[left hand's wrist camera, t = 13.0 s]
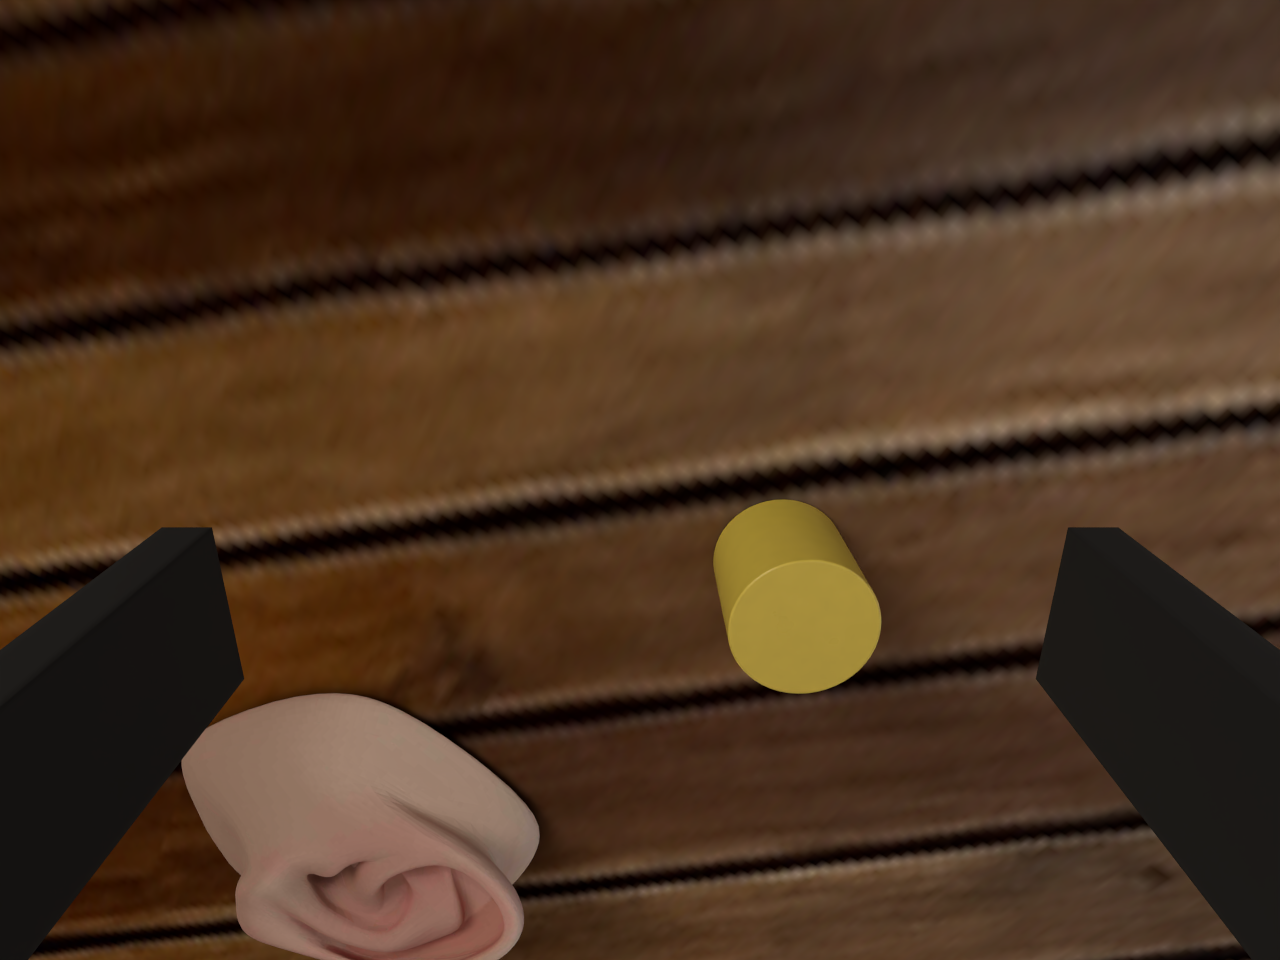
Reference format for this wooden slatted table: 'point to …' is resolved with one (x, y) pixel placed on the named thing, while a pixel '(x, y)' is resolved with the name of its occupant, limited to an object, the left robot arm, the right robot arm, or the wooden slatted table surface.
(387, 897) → the anatomical model
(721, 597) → the canister
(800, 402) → the wooden slatted table surface
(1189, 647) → the left robot arm
